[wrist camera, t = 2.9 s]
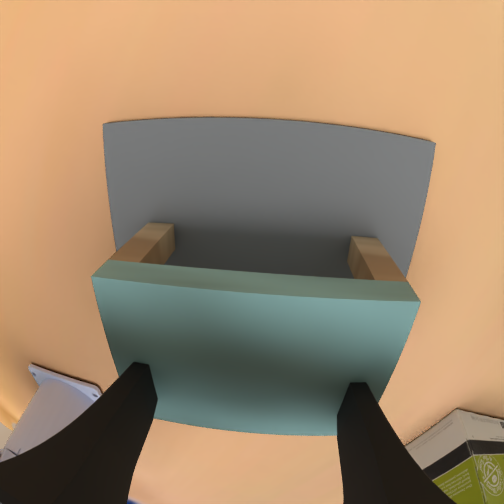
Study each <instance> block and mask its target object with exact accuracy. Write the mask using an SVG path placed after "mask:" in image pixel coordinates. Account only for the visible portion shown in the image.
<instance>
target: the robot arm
mask: <svg viewBox="0 0 504 504" xmlns="http://www.w3.org/2000/svg"><path fill="white" fill-rule="evenodd" d="M28 368H29V370H30V372H31V374H32V375H33V377H34V379H35V380H36V382H37V384H38V385H39V388H38V390H37V391H36V393H35V394H34V396H33V398H32V399H31V401H30V403H29V404H28V406H27V408H26V409H25V411H24V413H23V414H22V416H21V418H20V419H19V421H18V423H17V425H16V426H15V428H14V430H13V432H12V433H11V435H10V437H9V439H8V441H7V443H6V444H5V446H4V449H0V504H127V499H128V494H129V489H130V485H131V480H132V476H133V472H134V469H135V466H136V463H137V461H138V458H139V455H140V453H141V450H142V447H143V445H144V442H145V440H146V437H147V434H148V432H149V429H150V426H151V424H152V421H153V418H154V414H155V410H156V406H157V401H158V397H157V393H156V390H155V386H154V382H153V378H152V374H151V370H150V366H149V364H144V363H139V362H133V363H132V364H131V365H130V366H129V367H128V368H127V369H126V370H125V371H124V372H123V373H122V374H121V376H120V377H119V378H118V379H117V380H116V381H115V382H114V383H113V384H112V385H111V386H110V387H109V388H108V389H107V390H106V391H105V392H104V393H103V394H102V393H101V391H100V389H99V388H98V387H97V386H95V385H92V384H89V383H85V382H82V381H79V380H76V379H73V378H69V377H66V376H63V375H60V374H57V373H55V372H52V371H49V370H46V369H43V368H41V367H38V366H35V365H33V364H30V365H29V366H28ZM337 441H338V449H339V457H340V465H341V473H342V481H343V494H344V502H343V504H457V503H456V502H454V501H453V500H452V499H451V498H450V497H448V496H447V495H446V494H445V493H444V492H443V491H442V490H441V489H440V488H439V487H438V486H437V485H436V484H435V483H434V482H433V481H432V480H431V479H430V478H429V477H428V476H427V475H426V473H425V472H424V471H423V470H422V469H421V468H420V466H419V465H418V464H417V463H416V461H415V460H414V459H413V458H412V456H411V455H410V454H409V452H408V451H407V449H406V448H405V446H404V445H403V444H402V442H401V441H400V439H399V438H398V436H397V435H396V433H395V431H394V430H393V428H392V427H391V425H390V423H389V422H388V420H387V418H386V417H385V415H384V413H383V411H382V410H381V408H380V406H379V404H378V402H377V401H376V399H375V397H374V395H373V393H372V391H371V389H370V388H369V386H368V384H367V383H366V382H350V384H349V386H348V388H347V391H346V394H345V396H344V399H343V401H342V404H341V406H340V409H339V411H338V414H337Z"/></svg>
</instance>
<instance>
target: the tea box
mask: <svg viewBox="0 0 504 504" xmlns="http://www.w3.org/2000/svg"><path fill="white" fill-rule="evenodd" d="M405 448H406V449H407V451H408V452H409V454H410V455H411V456H412V458H413V459H414V460H415V461H416V463H417V464H418V465H419V466H420V468H421V469H422V470H423V471H424V472H425V473H426V475H427V476H428V477H429V478H430V479H431V480H432V481H433V482H434V483H435V484H436V485H437V486H438V487H439V488H440V489H441V490H442V491H443V492H444V493H445V494H446V495H447V496H448V497H450V498H451V499H452V500H453V501H454V502H456V503H457V504H504V420H501V419H497V418H491V417H489V416H484V415H478V414H475V413H472V412H466V411H463V410H460V409H455V410H454V411H453V412H451V413H450V414H449V415H447V416H446V417H445V418H444V419H442V420H441V421H440V422H438V423H437V424H436V425H434V426H433V427H432V428H430V429H429V430H428V431H426V432H425V433H423V434H422V435H421V436H419V437H418V438H416V439H415V440H413V441H412V442H410V443H409V444H407V445H406V446H405Z"/></svg>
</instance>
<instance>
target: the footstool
mask: <svg viewBox="0 0 504 504" xmlns="http://www.w3.org/2000/svg"><path fill="white" fill-rule="evenodd" d="M174 250H175V235H174V224H170V223H150V222H149V223H147V224H146V225H145V226H144V227H143V228H142V229H141V230H140V231H139V232H137V233H136V234H135V235H134V236H133V237H132V238H131V239H130V240H129V241H128V242H127V243H125V244H124V245H123V246H122V247H121V248H120V249H119V250H118V251H117V252H116V253H115V254H114V255H113V256H112V257H111V258H110V259H108V260H107V261H106V262H105V263H104V264H103V265H102V266H101V267H100V268H99V269H98V270H97V271H96V272H95V273H94V274H93V275H92V276H91V278H92V283H93V287H94V292H95V296H96V300H97V304H98V308H99V312H100V316H101V320H102V323H103V327H104V330H105V334H106V337H107V341H108V344H109V347H110V351H111V354H112V357H113V360H114V363H115V366H116V369H117V372H118V375H119V377H120V376H121V374H122V373H123V372H124V371H125V370H126V369H127V368H128V367H129V366H130V365H131V364H132V363H133V362H139V363H144V364H149V366H150V370H151V374H152V378H153V382H154V386H155V390H156V393H157V397H158V401H157V406H156V410H155V414H154V418H156V419H160V420H165V421H170V422H175V423H181V424H187V425H193V426H199V427H206V428H213V429H220V430H228V431H238V432H248V433H260V434H276V435H305V436H328V435H337V414H338V411H339V409H340V406H341V404H342V401H343V399H344V396H345V394H346V391H347V388H348V386H349V384H350V382H366V383H367V384H368V386H369V388H370V389H371V391H372V393H373V395H374V397H375V399H376V401H377V402H379V400H380V398H381V396H382V394H383V392H384V390H385V388H386V386H387V384H388V382H389V380H390V378H391V375H392V373H393V371H394V369H395V367H396V364H397V362H398V360H399V357H400V355H401V353H402V350H403V348H404V345H405V343H406V341H407V338H408V335H409V333H410V330H411V328H412V325H413V322H414V320H415V317H416V314H417V311H418V309H419V306H420V303H421V301H420V300H419V298H418V297H417V295H416V293H415V292H414V290H413V289H412V287H411V286H410V284H409V283H408V281H407V280H406V278H405V277H404V275H403V274H402V272H401V271H400V269H399V268H398V266H397V265H396V263H395V262H394V261H393V259H392V258H391V256H390V255H389V253H388V252H387V251H386V249H385V248H384V246H383V245H382V244H381V242H380V241H379V240H378V238H370V237H359V236H351V242H350V247H349V253H348V259H347V263H348V265H349V267H350V270H351V272H352V275H353V277H354V279H347V278H331V277H315V276H300V275H285V274H271V273H258V272H244V271H231V270H219V269H206V268H194V267H182V266H171V265H164V264H165V263H166V261H167V260H168V258H169V257H170V256H171V254H172V253H173V252H174Z"/></svg>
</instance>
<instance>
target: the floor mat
mask: <svg viewBox="0 0 504 504" xmlns="http://www.w3.org/2000/svg"><path fill="white" fill-rule="evenodd" d="M103 139H104V155H105V167H106V178H107V187H108V196H109V204H110V212H111V219H112V226H113V233H114V239H115V245H116V251H118V250H119V249H120V248H121V247H122V246H123V245H124V244H125V243H127V242H128V241H129V240H130V239H131V238H132V237H133V236H134V235H135V234H136V233H137V232H139V231H140V230H141V229H142V228H143V227H144V226H145V225H146V224H147V223H149V222H150V223H170V224H174V235H175V250H174V252H173V253H172V254H171V256H170V257H169V258H168V260H167V261H166V263H165V264H164V265H171V266H182V267H194V268H206V269H219V270H231V271H244V272H258V273H271V274H285V275H300V276H315V277H331V278H347V279H354V277H353V275H352V272H351V270H350V267H349V265H348V263H347V259H348V253H349V247H350V242H351V236H359V237H370V238H378V240H379V241H380V242H381V244H382V245H383V246H384V248H385V249H386V251H387V252H388V253H389V255H390V256H391V258H392V259H393V261H394V262H395V263H396V265H397V266H398V268H399V269H400V271H401V272H402V274H403V275H404V277H405V278H406V275H407V272H408V269H409V265H410V262H411V258H412V255H413V251H414V247H415V244H416V240H417V236H418V232H419V228H420V224H421V220H422V215H423V211H424V206H425V202H426V197H427V192H428V187H429V182H430V176H431V171H432V165H433V158H434V152H435V145H436V143H435V142H432V141H427V140H423V139H418V138H414V137H409V136H404V135H399V134H393V133H388V132H382V131H376V130H370V129H364V128H357V127H350V126H342V125H335V124H326V123H317V122H307V121H295V120H282V119H265V118H238V117H189V118H163V119H146V120H133V121H122V122H112V123H105V124H103Z"/></svg>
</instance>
